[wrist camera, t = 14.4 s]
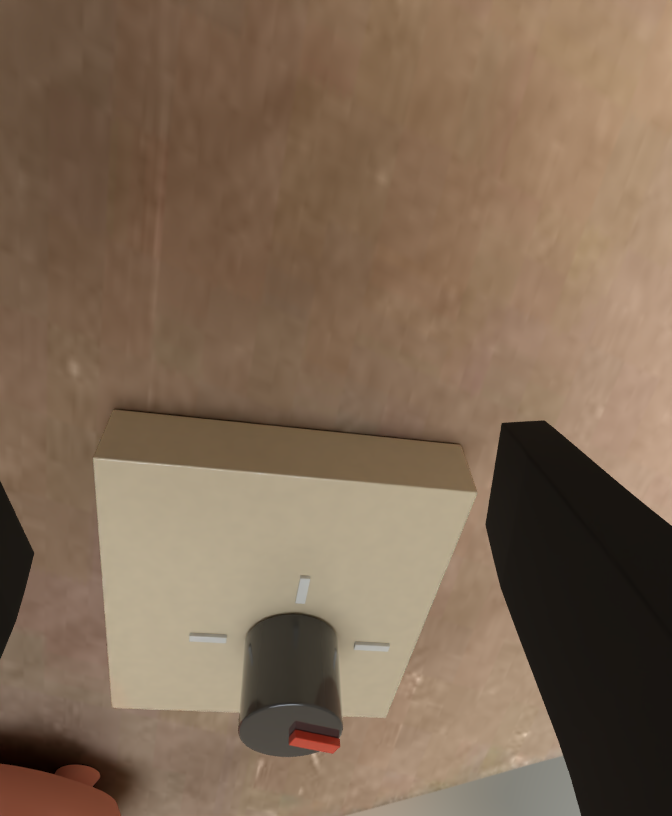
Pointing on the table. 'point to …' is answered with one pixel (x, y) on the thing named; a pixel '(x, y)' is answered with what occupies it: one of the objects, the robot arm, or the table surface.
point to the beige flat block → (266, 551)
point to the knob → (291, 687)
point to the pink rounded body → (53, 792)
